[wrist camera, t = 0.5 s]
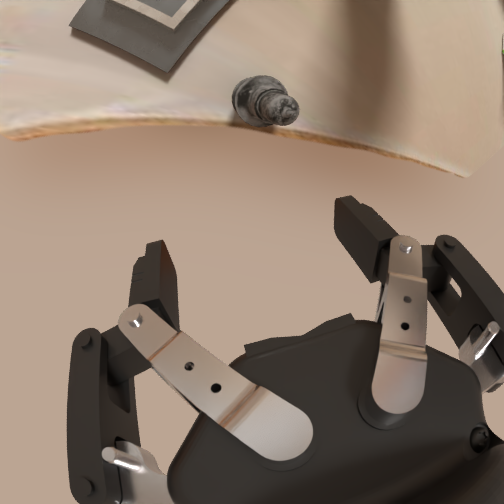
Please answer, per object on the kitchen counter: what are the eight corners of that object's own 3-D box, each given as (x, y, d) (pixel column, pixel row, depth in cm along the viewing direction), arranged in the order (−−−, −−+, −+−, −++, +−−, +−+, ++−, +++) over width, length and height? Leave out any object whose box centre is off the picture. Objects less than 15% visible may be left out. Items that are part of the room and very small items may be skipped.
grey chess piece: (285, 110, 31) (332, 133, 22) (241, 128, 32) (270, 159, 22) (267, 67, 28) (311, 69, 18) (221, 86, 28) (242, 95, 19)
